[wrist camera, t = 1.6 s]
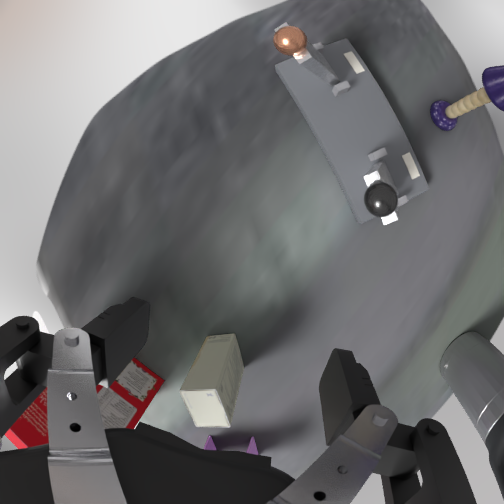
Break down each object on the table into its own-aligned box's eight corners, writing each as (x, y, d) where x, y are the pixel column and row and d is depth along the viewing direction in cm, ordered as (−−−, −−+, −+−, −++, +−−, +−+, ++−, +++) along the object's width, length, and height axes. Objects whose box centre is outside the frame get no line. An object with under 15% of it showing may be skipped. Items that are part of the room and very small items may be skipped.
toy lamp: (423, 99, 28) (496, 55, 12) (448, 95, 27) (522, 58, 11) (436, 133, 29) (518, 108, 12) (461, 128, 28) (542, 106, 12)
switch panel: (356, 221, 33) (365, 226, 29) (275, 71, 30) (273, 58, 26) (422, 189, 30) (437, 189, 27) (344, 45, 28) (349, 30, 24)
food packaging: (87, 342, 42) (-6, 423, 18) (95, 323, 41) (-9, 407, 17) (152, 395, 43) (83, 501, 19) (164, 380, 42) (90, 497, 17)
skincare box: (206, 335, 38) (176, 388, 27) (236, 332, 38) (215, 387, 26) (217, 371, 40) (194, 427, 28) (246, 369, 39) (231, 428, 27)
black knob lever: (383, 198, 30) (374, 235, 19) (369, 165, 29) (351, 183, 18) (403, 190, 28) (406, 223, 18) (389, 157, 28) (384, 169, 17)
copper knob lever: (327, 89, 28) (283, 64, 17) (309, 62, 27) (257, 27, 17) (346, 79, 26) (312, 46, 16) (328, 52, 26) (284, 10, 15)
